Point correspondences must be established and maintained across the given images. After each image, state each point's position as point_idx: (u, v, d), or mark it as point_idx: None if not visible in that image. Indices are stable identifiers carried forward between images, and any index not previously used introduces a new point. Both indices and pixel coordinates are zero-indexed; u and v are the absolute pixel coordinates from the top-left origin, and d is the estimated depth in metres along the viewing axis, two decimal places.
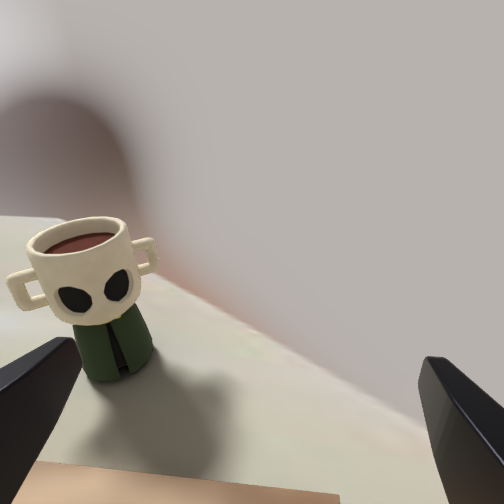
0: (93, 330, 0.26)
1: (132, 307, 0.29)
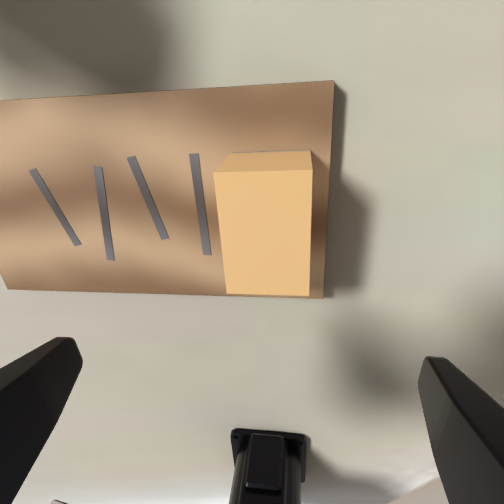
0: None
1: None
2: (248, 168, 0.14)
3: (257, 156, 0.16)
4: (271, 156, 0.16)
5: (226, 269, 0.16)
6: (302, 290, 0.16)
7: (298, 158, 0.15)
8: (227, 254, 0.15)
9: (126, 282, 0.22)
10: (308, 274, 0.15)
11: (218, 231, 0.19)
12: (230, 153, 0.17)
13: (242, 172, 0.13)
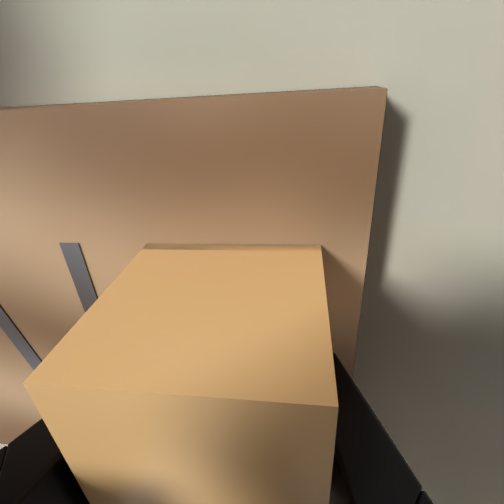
0: None
1: None
2: (142, 356, 0.05)
3: (194, 271, 0.07)
4: (226, 275, 0.06)
5: None
6: None
7: (292, 295, 0.06)
8: None
9: (0, 431, 0.13)
10: None
11: None
12: (142, 249, 0.08)
13: (109, 392, 0.04)
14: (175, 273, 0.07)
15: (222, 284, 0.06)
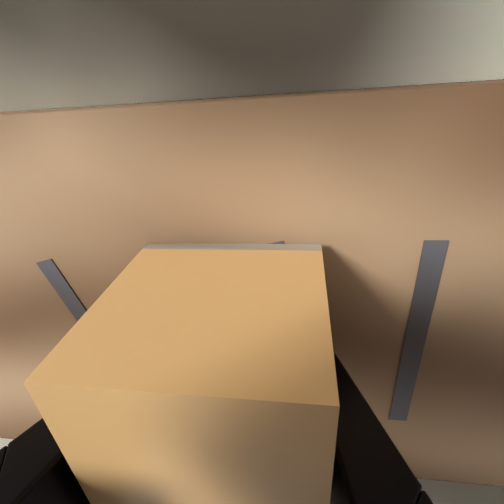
0: None
1: None
2: (143, 355, 0.05)
3: (194, 271, 0.07)
4: (227, 274, 0.06)
5: None
6: None
7: (293, 295, 0.06)
8: None
9: None
10: None
11: (437, 385, 0.09)
12: None
13: (109, 390, 0.04)
14: (175, 273, 0.07)
15: (223, 284, 0.06)
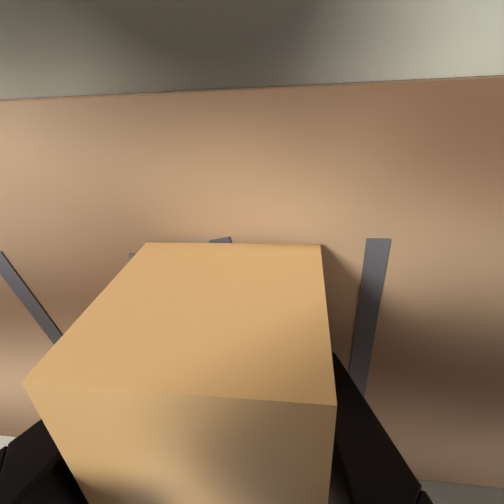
0: None
1: None
2: (140, 355, 0.05)
3: (193, 270, 0.07)
4: (225, 274, 0.06)
5: None
6: None
7: (291, 294, 0.06)
8: None
9: None
10: None
11: (389, 382, 0.09)
12: (141, 248, 0.08)
13: (107, 390, 0.04)
14: (174, 272, 0.07)
15: (221, 283, 0.06)
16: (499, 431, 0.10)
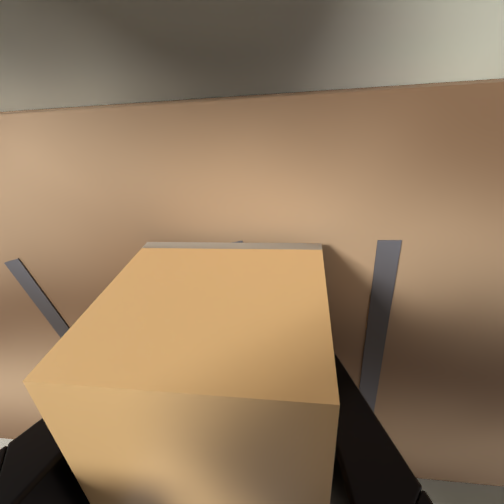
0: None
1: None
2: (142, 354, 0.05)
3: (194, 270, 0.07)
4: (227, 273, 0.06)
5: None
6: None
7: (293, 294, 0.06)
8: None
9: None
10: None
11: (400, 382, 0.09)
12: (142, 247, 0.08)
13: (108, 390, 0.04)
14: (175, 272, 0.07)
15: (222, 282, 0.06)
16: None
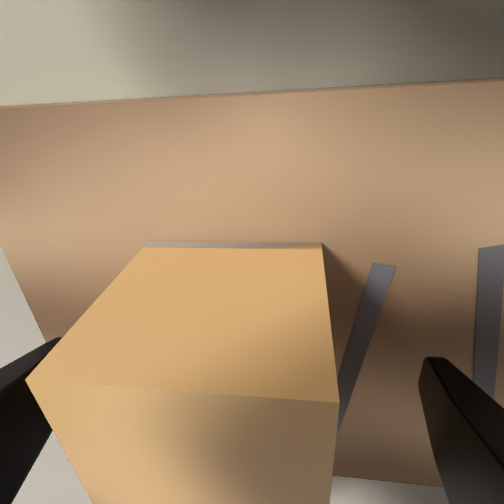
0: None
1: None
2: (144, 353, 0.05)
3: (195, 269, 0.07)
4: (227, 273, 0.06)
5: None
6: None
7: (293, 293, 0.06)
8: None
9: (347, 462, 0.11)
10: None
11: None
12: (143, 247, 0.08)
13: (111, 388, 0.04)
14: (176, 271, 0.07)
15: (223, 282, 0.06)
16: None
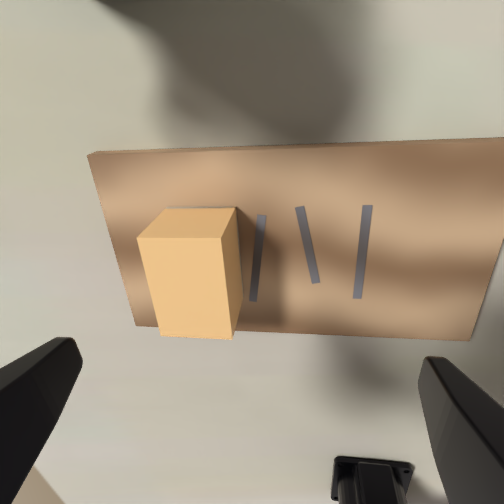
0: None
1: None
2: (169, 232, 0.16)
3: (185, 214, 0.18)
4: (197, 215, 0.17)
5: (158, 316, 0.18)
6: (226, 334, 0.18)
7: (218, 219, 0.17)
8: (157, 303, 0.17)
9: (264, 322, 0.22)
10: (229, 321, 0.17)
11: (374, 277, 0.19)
12: (165, 208, 0.19)
13: (161, 238, 0.15)
14: (178, 215, 0.18)
15: (195, 217, 0.17)
16: (428, 302, 0.20)
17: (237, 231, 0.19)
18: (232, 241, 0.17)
